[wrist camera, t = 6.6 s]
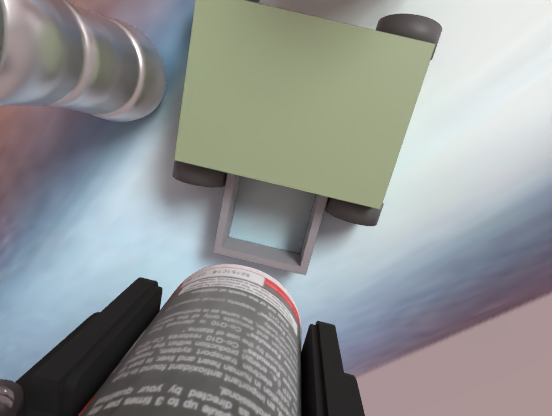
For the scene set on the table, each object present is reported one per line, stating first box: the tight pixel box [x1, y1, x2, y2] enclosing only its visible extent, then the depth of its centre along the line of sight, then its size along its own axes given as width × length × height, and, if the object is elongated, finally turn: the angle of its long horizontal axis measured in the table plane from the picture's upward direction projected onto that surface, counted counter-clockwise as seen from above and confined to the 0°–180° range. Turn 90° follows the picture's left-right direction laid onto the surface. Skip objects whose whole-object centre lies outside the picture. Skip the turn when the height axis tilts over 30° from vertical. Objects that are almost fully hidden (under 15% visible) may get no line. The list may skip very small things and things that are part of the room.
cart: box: [173, 0, 442, 275], centre depth 21 cm, size 16×19×5 cm
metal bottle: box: [0, 0, 167, 122], centre depth 14 cm, size 6×7×20 cm
